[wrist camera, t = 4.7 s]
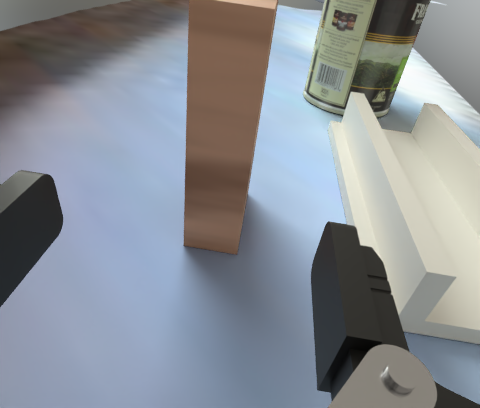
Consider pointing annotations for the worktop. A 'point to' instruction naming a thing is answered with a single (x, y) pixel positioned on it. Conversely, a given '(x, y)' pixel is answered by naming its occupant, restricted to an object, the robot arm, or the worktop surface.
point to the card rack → (416, 213)
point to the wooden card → (223, 115)
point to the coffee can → (362, 51)
